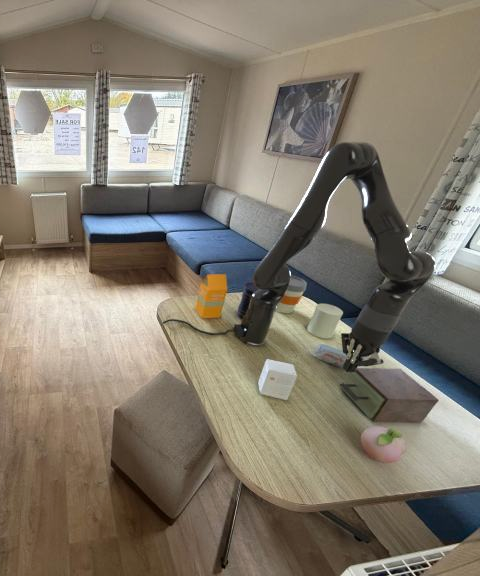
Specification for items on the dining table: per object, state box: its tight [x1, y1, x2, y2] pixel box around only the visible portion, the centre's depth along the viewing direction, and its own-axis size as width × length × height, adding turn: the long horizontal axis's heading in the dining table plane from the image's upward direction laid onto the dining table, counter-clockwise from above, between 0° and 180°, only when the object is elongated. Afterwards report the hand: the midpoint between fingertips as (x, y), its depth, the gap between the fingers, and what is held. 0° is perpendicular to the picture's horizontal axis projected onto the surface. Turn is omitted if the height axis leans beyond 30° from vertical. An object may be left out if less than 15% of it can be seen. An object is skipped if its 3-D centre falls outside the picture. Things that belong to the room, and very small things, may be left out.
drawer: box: [339, 372, 385, 419], centre depth 95 cm, size 18×11×8 cm, turn 90°
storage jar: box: [236, 282, 259, 320], centre depth 137 cm, size 10×10×15 cm
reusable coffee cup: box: [275, 275, 308, 314], centre depth 145 cm, size 13×13×15 cm
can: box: [306, 303, 344, 339], centre depth 129 cm, size 9×9×12 cm
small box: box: [257, 358, 298, 401], centre depth 99 cm, size 8×6×10 cm
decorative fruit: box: [360, 425, 407, 464], centre depth 80 cm, size 9×8×10 cm
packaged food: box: [312, 343, 347, 369], centre depth 114 cm, size 9×12×5 cm
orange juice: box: [195, 273, 228, 319], centre depth 138 cm, size 8×9×20 cm
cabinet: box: [355, 367, 440, 424], centre depth 95 cm, size 15×13×10 cm
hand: (347, 370), depth 90 cm, fingers closed
